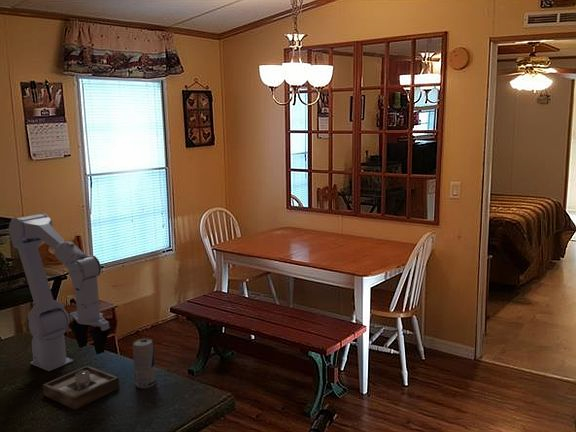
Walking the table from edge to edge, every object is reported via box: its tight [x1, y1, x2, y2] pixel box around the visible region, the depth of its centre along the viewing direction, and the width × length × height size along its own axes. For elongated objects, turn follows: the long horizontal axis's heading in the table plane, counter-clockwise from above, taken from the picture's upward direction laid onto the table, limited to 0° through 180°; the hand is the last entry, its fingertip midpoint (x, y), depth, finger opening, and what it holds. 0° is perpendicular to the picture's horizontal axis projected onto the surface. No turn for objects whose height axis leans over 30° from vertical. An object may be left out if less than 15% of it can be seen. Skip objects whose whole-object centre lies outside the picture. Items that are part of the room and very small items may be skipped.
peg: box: [75, 370, 91, 392], centre depth 149 cm, size 4×4×5 cm
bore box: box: [42, 365, 120, 411], centre depth 149 cm, size 13×13×3 cm
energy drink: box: [132, 337, 157, 389], centre depth 151 cm, size 5×5×12 cm
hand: (91, 349), depth 154 cm, fingers open, 7 cm apart
